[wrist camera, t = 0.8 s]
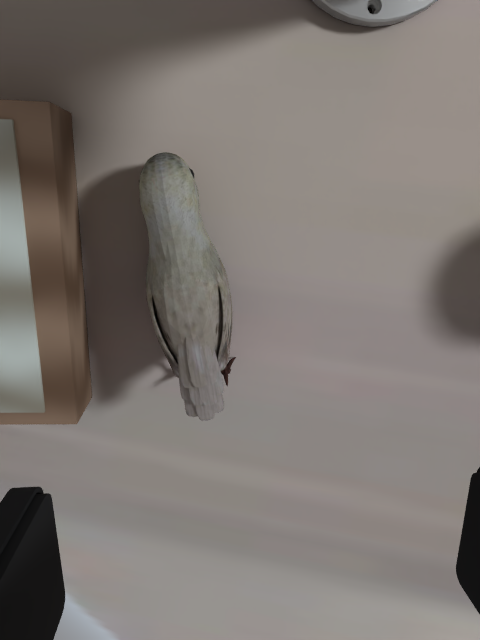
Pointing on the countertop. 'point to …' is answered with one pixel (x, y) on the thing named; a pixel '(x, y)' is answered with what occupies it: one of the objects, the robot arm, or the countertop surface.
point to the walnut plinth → (40, 269)
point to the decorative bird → (186, 285)
